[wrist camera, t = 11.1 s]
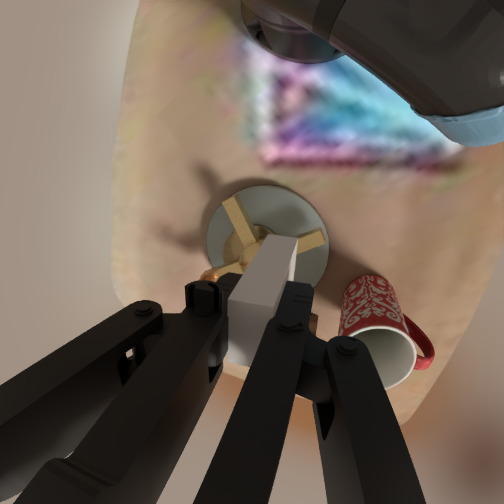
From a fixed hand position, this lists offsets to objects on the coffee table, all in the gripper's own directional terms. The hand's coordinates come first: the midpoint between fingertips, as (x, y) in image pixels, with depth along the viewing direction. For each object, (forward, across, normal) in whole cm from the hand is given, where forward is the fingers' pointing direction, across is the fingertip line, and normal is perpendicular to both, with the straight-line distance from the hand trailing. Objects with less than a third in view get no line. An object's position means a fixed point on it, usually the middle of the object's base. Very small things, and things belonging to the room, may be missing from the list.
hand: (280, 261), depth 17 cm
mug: (+25, +11, -15) cm, 31 cm away
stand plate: (+24, -5, -9) cm, 26 cm away
